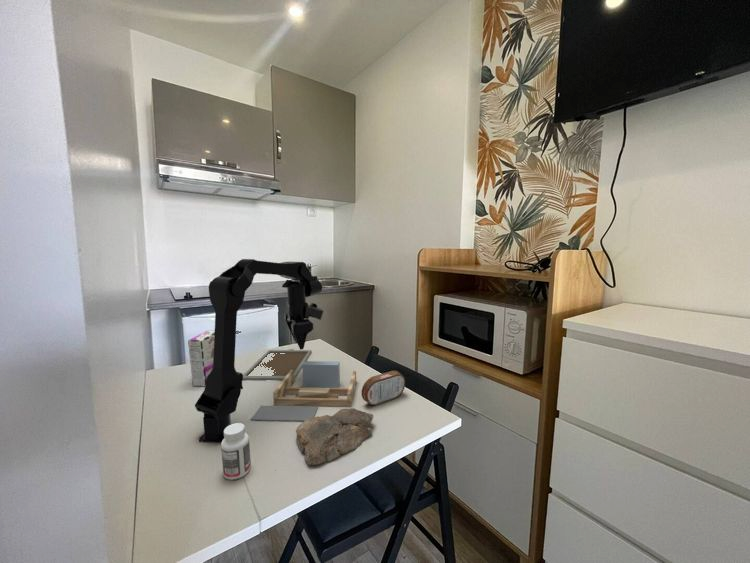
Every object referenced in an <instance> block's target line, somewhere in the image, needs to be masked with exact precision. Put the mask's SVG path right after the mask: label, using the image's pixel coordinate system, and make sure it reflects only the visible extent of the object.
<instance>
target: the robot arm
mask: <svg viewBox="0 0 750 563" xmlns="http://www.w3.org/2000/svg"><path fill="white" fill-rule="evenodd" d="M257 274H260V275H276V276H280V277H281V278H283V279H284V278H285V279H286V280H285V282H284V283H283V284H282V286H281V287H282V288H284V289H285V288H286V290H287V292H286V293H287V302H286V305H287V308H288V310H286V311H285V312H284V313H283V315H284V316H283V317H284V320H285V323H286V326H287V328H288V330H289V332H290V334H291V336H292V339H293V340H294V342H296V344H297V346H298V348H299V350H305V349H304V348H305V344H306V340H307V337H308V334H309V333H311V332H312V331H313V330H314V323H313V322H312V321H311V320H310V317H311V318H314V319H317V320H320V321H321V320H322V318H323V315H324V310H323V309H322V308H320V307H318V305H317V303H314V302H311V303H310V304H309V302H307V299H306V298H309V297H313V296H316V295H319V294H321V293H322V291H323V285H322V282H321V281H320V279H318V276H317V275H312V272H311V271H310V270H309V268H308V266H307V263H306V262H304V261H283V262H274V261H263V260H257V259H254V258H242V259H241V260H238V261H237V262H236V263H235V264H234V265H233V266H232V267H229V268H228V269H226V270H225V271H222V273H221V274H220V275H218V276H216V277H214V278H213V279H212V280H211V281H210V282H209V284H208V294H209V296H208V297H209V301H210V303H211V305H212V308H213V310H214V313H215V315H214V320H215V321H214V331H215V335H214V357H213V369H212V371H211V372H210V374H209V376H208V377H207V379H206V384H205V386H204V390H203V391H202V393H201V395H200V397H199V398H198V399H197V401H196V403H195V404H194V407H195V409H196V411H197V412H200V413H203V417H202V419H203V421H202V422H203V431H204V432H203V434H202V435H201V436H200V437H199V438H198V442H210V443H211V442H212V443H213V442H214V443H222V441H223V439H224V429H225V428H226V427H228V426H229V425H231V424H232V422H231V414H233V413H234V412H236V410H237V406H238V403H239V398H240V396H241V391H242V390H243V389H244V387H243V381H244V380H243V374H244V373H242V372H238V371H237V370H236V368H235V360H236V359H235V358H236V337H237V318H238V317H237V316H238V311H239V309H240V308H241V307H242V305H243V303H244V300H245V294H246V291H247V290H248V289H249V287H250V286H252V284H253V282H254V278H255V276H256V275H257Z"/></svg>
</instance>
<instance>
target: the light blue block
mask: <svg viewBox="0 0 750 563" xmlns="http://www.w3.org/2000/svg"><path fill="white" fill-rule="evenodd" d="M340 366H341V365H340V361H320V360H318V361H317V360H315V361H313V360H307V361H304V363H303V364H302V369H301V371H302V387H318V388H340V385H341V374H340V372H341V370H340V369H341V367H340Z"/></svg>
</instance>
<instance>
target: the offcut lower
mask: <svg viewBox="0 0 750 563" xmlns="http://www.w3.org/2000/svg"><path fill="white" fill-rule="evenodd" d="M293 398H305V397H299V395H298V393H297V394H296V395H295V396H293ZM328 398H339V395H338V394H329V396H328Z"/></svg>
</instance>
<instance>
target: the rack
mask: <svg viewBox="0 0 750 563" xmlns="http://www.w3.org/2000/svg"><path fill="white" fill-rule="evenodd" d="M294 381H295V380H294V370H290V372H289V373H288V374H287V375H286V377H285V378H284V379H283V381H281V382H280V383H279V385H278V386H277V387H276V389H274V391H273V392H272V393H273V406H291V405H293V406H311V407H346V408H348V407H350V408H352V402H353V398H354V394H355V388H356V385H357V370H352V374H351V378H350V382H349V385H348V387H339V388H329V391H330V394H338V396H346V398H344V397H343V398H339V397H338V398H294V396H293V397H291V396H290V397H288V396H287V397H285V395H295V396H296V394H297V393H298V392H299V390H300V389H301V388H318V387H303V386H302V387H301V386H299V387H298V386H292V384H293V383H294Z"/></svg>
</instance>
